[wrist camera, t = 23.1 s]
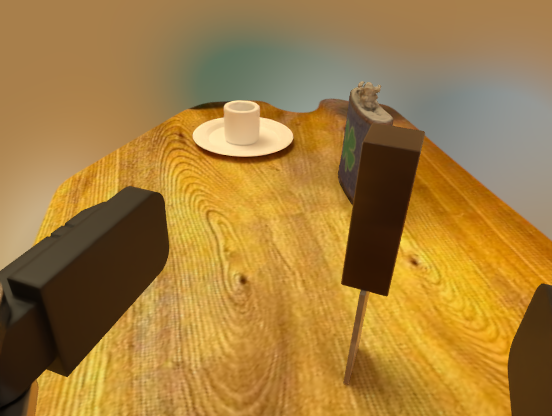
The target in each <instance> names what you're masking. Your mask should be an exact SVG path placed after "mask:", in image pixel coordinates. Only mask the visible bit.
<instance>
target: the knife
mask: <svg viewBox="0 0 552 416" xmlns="http://www.w3.org/2000/svg"><path fill="white" fill-rule="evenodd" d="M424 135H425V132H424V131H420V130H413V129H407V128H401V127H395V126H389V125H383V124H377V123H372V125H371V127H370V129H369V131H368V133H367V135H366V137H365V139H364V141H363V143H362V149H361V156H360V163H359V169H358V176H357V182H356V189H355V195H354V202H353V208H352V215H351V222H350V228H349V235H348V241H347V248H346V254H345V261H344V268H343V274H342V281H341V284H342V285H345V286H349V287H353V288H357V289H360V290H361V292H360V295H359V301H358V306H357V312H356V317H355V323H354V328H353V333H352V339H351V344H350V350H349V355H348V361H347V366H346V372H345V377H344V382H343V383H344V384H347V385H348V384H349V381H350V377H351V373H352V369H353V366H354V362H355V358H356V354H357V351H358V347H359V342H360V337H361V332H362V327H363V321H364V316H365V311H366V306H367V301H368V296H369V292H372V293H376V294H379V295H383V296H388V293H389V289H390V284H391V280H392V276H393V271H394V267H395V262H396V258H397V254H398V249H399V245H400V241H401V236H402V232H403V227H404V223H405V219H406V214H407V210H408V205H409V201H410V197H411V192H412V188H413V184H414V179H415V175H416V170H417V166H418V162H419V157H420V153H421V148H422V144H423V139H424Z"/></svg>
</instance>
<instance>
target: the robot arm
mask: <svg viewBox="0 0 552 416" xmlns="http://www.w3.org/2000/svg"><path fill="white" fill-rule="evenodd" d="M168 254H169V241H168V231H167V221H166V211H165V202H164V198H163V196H162V195H161V194H160V193H158V192H153V191H149V190H145V189H141V188H136V187H132V186H128V187H126V188H124V189H123V190H121V191H120V192H119V193H117V194H116V195H115V196H113V197H112V198H111V199H109V200H108V201H107V202H102V203H100V204H97V205H95V206H92V207H90V208H88V209H85V210H83V211H81V212H80V213H78V214H77V215H76V216H74V217H73V218H72V219H70V220H69V221H67V222H66V223H65V226H61V227H59V228H58V229H57V230H55V231H54V232H53V233H51V236H50V237H48V236H47V237H46V238H44V239H43V240H42V241H40V242H39V243H38V244H36V245H35V246H33V247H32V248H31V249H29V250H28V251H27V252H25V253H24V254H23V255H21V256H20V257H18V258H17V259H16V260H15V261H13V262H12V263H10V264H9V265H8V266H6V267H5V268H4V269H2V270H1V271H0V416H35V412H36V405H37V397H38V382H37V380H36V379H37V378H38V377H39V376H40V375H41V374H42V373H43V372H44V371H45V370H46V369H47V370H50V371H52V372H55V373H58V374H60V375H63V376H66V377H68V376H69V375H70V374H71V372H72V371H73V370H74V369H75V368H76V367H77V366H78V365H79V363H80V362H81V361H82V360H83V359H84V358H85V357H86V356H87V354H88V353H89V352H90V351H91V350H92V349H93V348H94V347H95V345H96V344H97V343H98V342H99V341H100V340H101V339H102V338H103V336H104V335H105V334H106V333H107V332H108V331H109V330H110V329H111V327H112V326H113V325H114V324H115V323H116V322H117V321H118V320H119V318H120V317H121V316H122V315H123V314H124V313H125V312H126V311H127V309H128V308H129V307H130V306H131V305H132V304H133V303H134V302H135V301H136V299H137V298H138V297H139V296H140V295H141V294H142V293H143V292H144V290H145V289H146V288H147V287H148V286H149V285H150V284H151V283H152V281H153V280H154V279H155V278H156V277H157V276H158V275H159V274H160V272H161V271H162V270H163V268H164V266H165V264H166V261H167V258H168ZM508 379H509V390H510V401H511V412H512V416H552V285H547V284H541V285H540V286H539V287H538V288H537V290H536V291H535V293H534V296H533V298H532V300H531V302H530V304H529V306H528V309H527V311H526V313H525V315H524V317H523V319H522V322H521V324H520V326H519V328H518V330H517V333H516V335H515V337H514V339H513V342H512V345H511V348H510V353H509V359H508Z"/></svg>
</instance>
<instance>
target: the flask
mask: <svg viewBox="0 0 552 416" xmlns="http://www.w3.org/2000/svg"><path fill="white" fill-rule="evenodd" d="M363 83H364V82H360V83H359V84H358V88H354V89H353V90H352V91H351V92H350V97H349V107H348V113H347V121H346V127H345V135H344V141H343V150H342V155H341V161H340V165H339V171H338V175H339V176H338V178H339V183H340V185H341V186H342V188H343V190H344V192H345V193H346V195H347V197H348V199H349V200H350V202H351V203H352V204H353V202H354V195H355V189H356V182H357V176H358V169H359V163H360V156H361V149H362V143H363V141H364V139H365V137H366V135H367V133H368V131H369V129H370V127H371V125H372V123H377V124H383V125H389V126H392V125H393V118H392V116H391V115H389V114H388V113H387V112H386V111H385V110H384V109H383V108H381V106H380V105H379V103H378V102H377V101H376V99H377V98H378V97H377V95H376V93H378V92H379V91H380V88H381V86H380V85H378V87H373V85H372V84H371V83H369V82H367V83H366V84H365V85H364V88H362V86H363ZM360 87H361V88H360Z"/></svg>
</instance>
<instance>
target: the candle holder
mask: <svg viewBox="0 0 552 416" xmlns="http://www.w3.org/2000/svg"><path fill="white" fill-rule="evenodd" d="M193 139H194V141H195V142H196V143H197V144H198V145H199V146H200V147H202V148H204V149H206V150H208V151H211V152H214V153H218V154H222V155H229V156H242V157H247V156H260V155H266V154H271V153H274V152H277V151H280V150H282V149H284V148H286V147H287V146H288V145H289V144H290V143H291V142H292V140H293V134H292V132H291V130H290V129H289V128H287V127H286V126H284V125H283V124H281V123H278V122H276V121H273V120H270V119H266V118H260V107H259V105H258V104H256V103H254V102H250V101H232V102H229V103H227V104H225V106H224V118H218V119H214V120H211V121H208V122H205V123H203V124H201V125H200V126H198V127H197V128H196V129H195V131H194V132H193Z"/></svg>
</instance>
